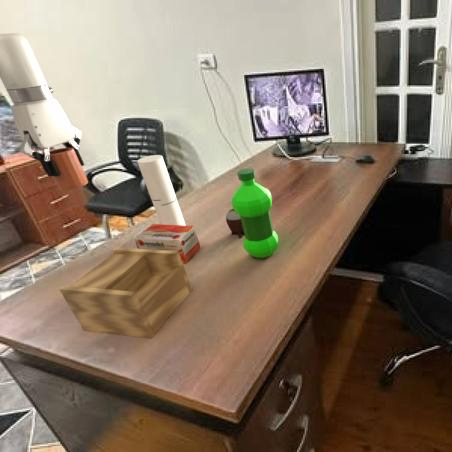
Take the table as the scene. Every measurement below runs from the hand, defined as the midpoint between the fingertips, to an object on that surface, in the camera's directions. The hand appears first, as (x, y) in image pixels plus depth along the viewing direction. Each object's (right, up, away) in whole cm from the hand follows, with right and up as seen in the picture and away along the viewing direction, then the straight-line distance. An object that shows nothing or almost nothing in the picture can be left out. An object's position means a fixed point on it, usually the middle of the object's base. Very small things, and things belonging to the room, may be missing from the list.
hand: (66, 170), depth 88 cm
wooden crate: (+21, -34, -4) cm, 40 cm away
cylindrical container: (+13, -15, +31) cm, 37 cm away
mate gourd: (+38, -16, +25) cm, 48 cm away
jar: (0, -4, +2) cm, 4 cm away
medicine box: (+19, -23, +17) cm, 34 cm away
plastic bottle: (+47, -22, +13) cm, 54 cm away
